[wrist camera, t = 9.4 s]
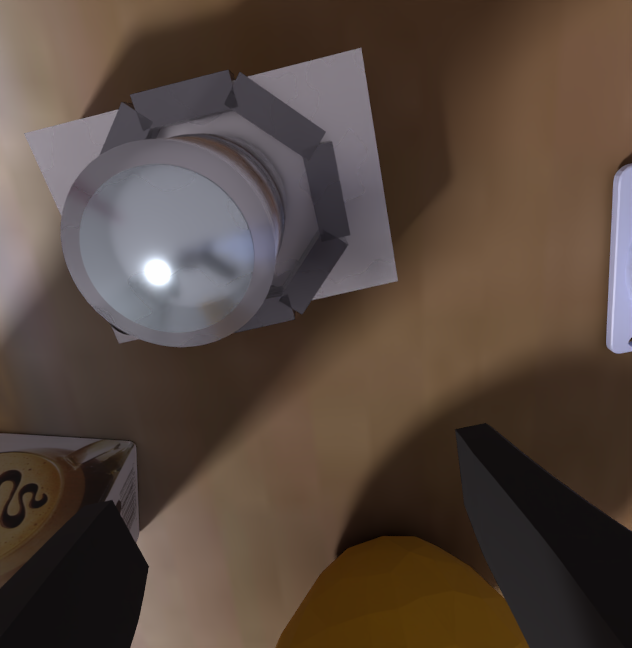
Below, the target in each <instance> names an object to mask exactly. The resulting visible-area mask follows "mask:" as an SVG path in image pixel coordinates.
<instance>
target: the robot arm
mask: <svg viewBox="0 0 632 648" xmlns="http://www.w3.org/2000/svg"><path fill="white" fill-rule="evenodd" d="M631 338H632V163H631V164H627V165H625V166H622V167H621V168H620V169H619V170H618V171H617V173H616V174H615V176H614V181H613V202H612V224H611V246H610V268H609V291H608V313H607V335H606V345H607V347H608V348H609V349H610V350H611V351H613V352H614V353H617V354H620V353H626V352H631V351H632V341H631V342H629V340H630V339H631ZM628 342H629V343H628ZM455 431H456V440H457V448H458V457H459V465H460V473H461V482H462V490H463V498H464V505H465V508H466V511H467V513H468V516H469V519H470V521H471V524H472V527H473V530H474V532H475V535H476V537H477V540H478V543H479V545H480V548H481V550H482V553H483V555H484V557H485V559H486V561H487V563H488V566H489V568H490V570H491V572H492V574H493V576H494V578H495V580H496V582H497V584H498V586H499V588H500V590H501V592H502V594H503V596H504V598H505V600H506V602H507V604H508V606H509V608H510V610H511V612H512V614H513V616H514V618H515V620H516V622H517V624H518V626H519V628H520V630H521V632H522V634H523V636H524V638H525V639H526V641H527V643H528V645H529V647H530V648H632V531H630V530H629V529H627V528H626V527H624V526H623V525H621V524H620V523H618V522H617V521H615V520H614V519H612V518H611V517H609V516H608V515H606V514H605V513H604V512H602V511H601V510H599V509H598V508H596V507H595V506H593V505H592V504H591V503H589V502H588V501H586V500H585V499H584V498H582V497H581V496H580V495H578V494H577V493H575V492H574V491H573V490H571V489H570V488H569V487H567V486H566V485H565V484H563V483H562V482H560V481H559V480H558V479H556V478H555V477H554V476H552V475H551V474H550V473H548V472H547V471H546V470H544V469H543V468H542V467H541V466H539V465H538V464H537V463H535V462H534V461H533V460H532V459H530V458H529V457H528V456H527V455H525V454H524V453H523V452H522V451H520V450H519V449H518V448H517V447H515V446H514V445H513V444H512V443H510V442H509V441H508V440H507V439H506V438H504V437H503V436H502V435H501V434H500V433H498V432H497V431H496V430H495V429H493V428H492V427H491V426H489V425H488V424H486V423H484V424H479V425H474V426H469V427H464V428H460V429H455ZM148 568H149V566H148V564H147V562H146V561H145V559H144V557H143V555H142V553H141V551H140V550H139V548H138V546H137V544H136V542H135V540H134V539H133V537H132V535H131V533H130V531H129V529H128V528H127V526H126V524H125V522H124V520H123V518H122V517H121V515H120V513H119V511H118V509H117V507H116V506H115V504H114V502H113V500H109V501H104V502H99V503H94V504H89V505H85V506H84V507H82V508H81V509H80V510H79V511H78V512H77V513H76V514H75V515H74V516H73V517H71V518H70V519H69V520H68V521H67V522H66V523H65V524H64V525H63V526H62V527H61V528H60V529H59V530H58V531H57V532H56V533H55V534H54V535H53V536H52V537H51V538H50V539H49V540H48V541H47V542H46V543H45V544H44V545H43V546H42V547H41V548H40V549H39V550H38V551H37V552H36V553H35V554H34V555H33V556H32V557H31V558H30V559H29V560H28V561H27V562H26V563H25V564H24V565H23V566H22V567H21V568H20V569H19V570H18V571H17V572H16V573H15V574H14V575H13V576H12V577H11V578H10V579H9V580H8V581H7V582H6V583H5V584H4V585H3V586H2V587H1V588H0V648H130V647H131V643H132V640H133V637H134V634H135V630H136V627H137V624H138V620H139V616H140V611H141V606H142V601H143V596H144V591H145V585H146V579H147V574H148Z"/></svg>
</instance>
